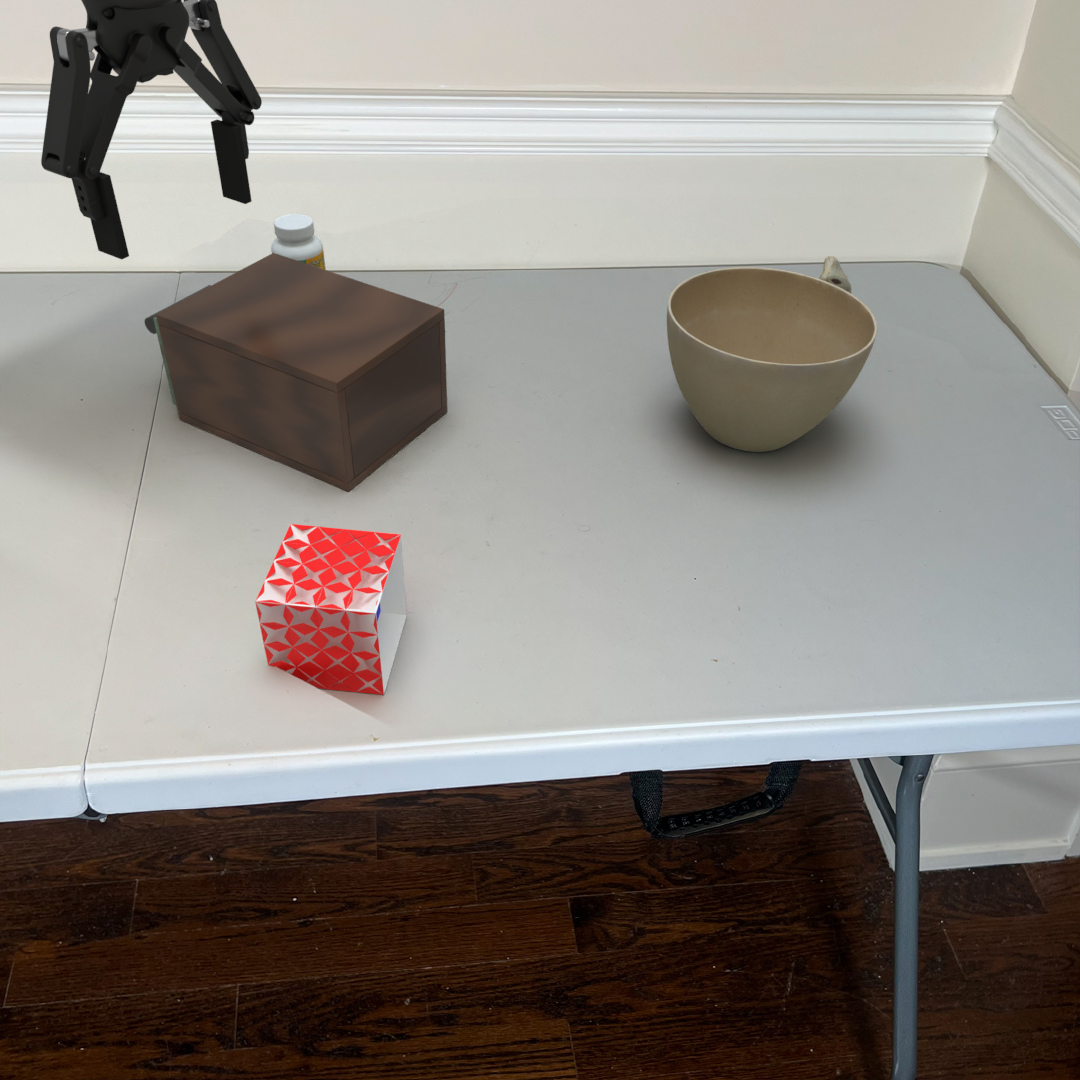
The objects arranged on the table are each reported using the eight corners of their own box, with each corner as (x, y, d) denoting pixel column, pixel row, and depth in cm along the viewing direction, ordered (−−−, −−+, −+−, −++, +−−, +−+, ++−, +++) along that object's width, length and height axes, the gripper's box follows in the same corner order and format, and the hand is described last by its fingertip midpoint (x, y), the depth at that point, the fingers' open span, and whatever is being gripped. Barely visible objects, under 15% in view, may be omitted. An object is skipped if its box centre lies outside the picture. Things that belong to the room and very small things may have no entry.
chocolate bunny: (860, 344, 110) (883, 257, 104) (808, 364, 107) (829, 275, 100) (822, 323, 114) (842, 236, 107) (770, 341, 110) (788, 253, 104)
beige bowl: (871, 483, 91) (907, 364, 84) (670, 486, 90) (687, 365, 82) (816, 376, 105) (842, 265, 97) (640, 377, 104) (653, 264, 96)
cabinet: (179, 419, 95) (155, 314, 88) (287, 352, 105) (273, 252, 98) (348, 492, 88) (336, 383, 81) (447, 411, 98) (444, 308, 91)
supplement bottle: (321, 290, 115) (311, 207, 109) (336, 311, 112) (327, 227, 106) (273, 299, 114) (261, 215, 107) (287, 321, 110) (275, 235, 104)
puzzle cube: (303, 604, 77) (290, 523, 72) (407, 614, 77) (401, 533, 72) (271, 684, 71) (254, 602, 66) (383, 696, 71) (375, 614, 66)
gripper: (1, -23, 63) (87, 293, 77) (283, -81, 80) (313, 189, 93) (-74, -42, 66) (21, 266, 80) (213, -94, 83) (251, 169, 96)
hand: (178, 225), depth 87 cm, fingers open, 13 cm apart
